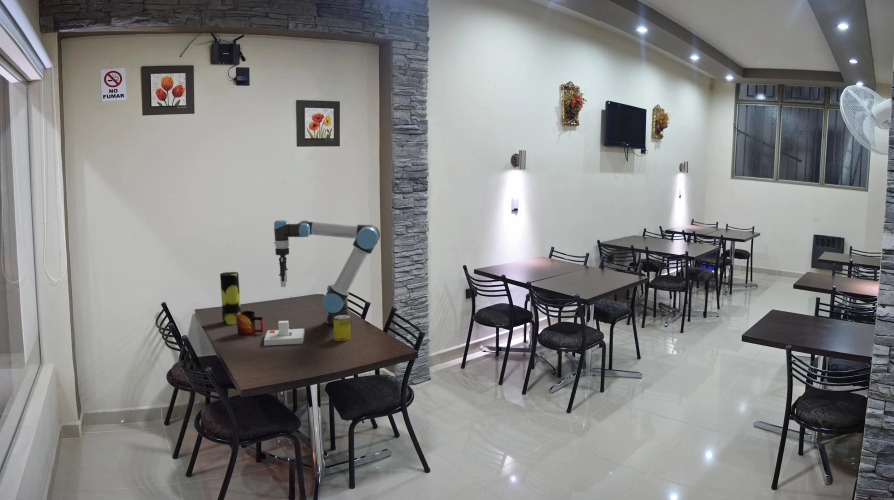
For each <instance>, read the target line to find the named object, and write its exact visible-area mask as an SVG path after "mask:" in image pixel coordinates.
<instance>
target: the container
mask: <svg viewBox="0 0 894 500" xmlns="http://www.w3.org/2000/svg"><path fill="white" fill-rule="evenodd" d="M219 275H220V276H219V277H220V292H221V293H220V295H221V306H222V307H221V309H222V311H221V315H222V316H221V317H222V322H223V323H222V324H224V325H229V326H230V325H231V326H233V325H237V313H238V312H242V309H241V295H240V294H241V293H240V279H239V278H240V277H239V272H238V271H228V272H227V271H226V272H222V273H220V274H219Z"/></svg>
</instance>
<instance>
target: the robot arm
mask: <svg viewBox="0 0 894 500" xmlns="http://www.w3.org/2000/svg"><path fill="white" fill-rule="evenodd" d="M273 232H274V234H273V235H274V242H273V244H274V246H275V249H274V250H275V255H276V256H279V257H278V262H279V263H278V264H279V273H278V276H279V277H280V288H286V287H287V284H286V283H287V282H288V272H287V271H288V270H289V268H287V255H288V256H289V255H290V240H289V238H308V237H309V236H310V235H311V236H312V235H313V236H321V237H333V238H342V239H351V240H352V239H353V240H354V241H353V243H352V246H353V248H352V251H351V253H350V255H349V256H348V258H347V260H346V262H345V264H344V265H343V268H342V269H341V270H340V273H339V275H338V276H337V278H336V281H335V282H334V283H332V284H328V285H327V286H326V287H327V289H326V290H327V291H326V293H325V295H324V296H323V298H322V303H321V304H322V307H323V308H324V310H325V311H326V312H327V313H326V317H325V324H326V325H330V326H334V319H333V317H335V316H338V315H348V316H350V323H351V322H352V316H351V314H350V311H349V307H348V306H349V305H348V303H349V302H348V299H349V295H350V293H349V290H350V287H351V286H352V284H353V282H354V280H355V279H356V277H357V275H358V274H359V271H360V269H361V267H362V265H363V264H364V262H365V260H366V258H367V256H368V255H371V254H372V252H373V251H374V249H375V247H376V246H377V244H378V241H379V240H380V237H381V233H380V230H379V228H378V227H377V226H375V225H374V224H357V225H351V224H350V225H348V224H338V223H326V222H317V221H316V222H315V221H308V220H301V221H300V222H298V223H289V222H288V220H285V219H282V220H281V219H280V220H275V221H274V223H273Z"/></svg>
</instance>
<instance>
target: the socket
mask: <svg viewBox="0 0 894 500" xmlns="http://www.w3.org/2000/svg"><path fill="white" fill-rule="evenodd" d="M304 339H305V328H292V329H291V328H289V336H279V329H269V330H267V331H266V334H265V336H264V339H263V345H264V346H265V347H266V346H279V345H280V346H282V345H300V344H304Z"/></svg>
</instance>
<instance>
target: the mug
mask: <svg viewBox="0 0 894 500" xmlns="http://www.w3.org/2000/svg"><path fill="white" fill-rule="evenodd" d="M263 320H264V319H263V316H256V314H255V311H254V310H253V311H252V310H243V311H242V310H241V312H238V313H237V324H236V326H237V335H238V336H240V337H250V336H253V335H255V334H256V333H264V321H263ZM256 321H260V329H259V328H258V329H257V328H256Z"/></svg>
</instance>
